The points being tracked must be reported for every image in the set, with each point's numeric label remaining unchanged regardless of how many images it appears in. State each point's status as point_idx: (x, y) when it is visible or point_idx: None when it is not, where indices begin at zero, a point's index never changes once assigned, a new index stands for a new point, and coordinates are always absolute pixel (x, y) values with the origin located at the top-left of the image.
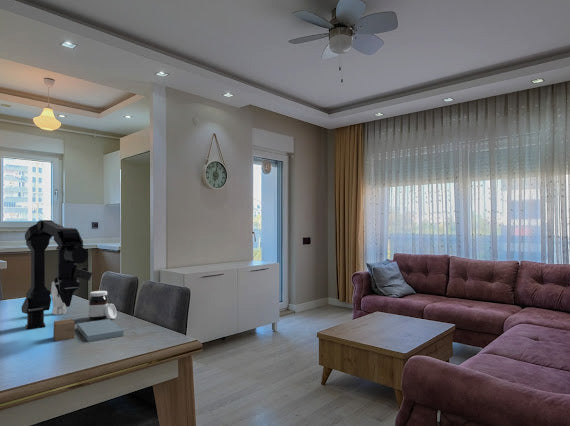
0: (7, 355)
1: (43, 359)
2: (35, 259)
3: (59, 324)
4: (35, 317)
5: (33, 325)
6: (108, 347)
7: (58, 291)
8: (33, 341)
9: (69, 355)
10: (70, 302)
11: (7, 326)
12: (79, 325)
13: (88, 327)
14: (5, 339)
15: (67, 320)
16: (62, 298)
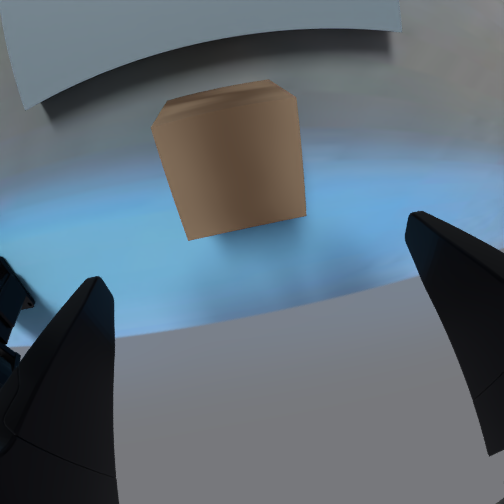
0: (370, 284)
1: (473, 194)
2: None
3: (304, 194)
4: (8, 317)
5: (23, 296)
6: (488, 5)
7: (113, 455)
8: (231, 252)
9: (491, 129)
10: (460, 231)
11: (10, 342)
12: (79, 79)
13: (169, 7)
14: (157, 330)
15: (206, 154)
16: (107, 347)
